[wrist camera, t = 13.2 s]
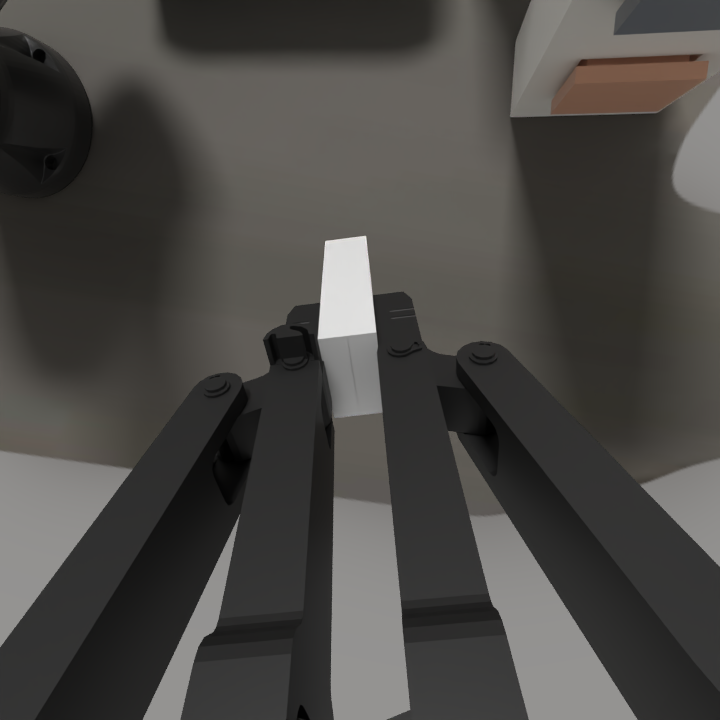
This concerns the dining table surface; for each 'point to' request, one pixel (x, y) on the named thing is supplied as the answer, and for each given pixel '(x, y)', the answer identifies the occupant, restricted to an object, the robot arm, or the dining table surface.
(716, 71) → the button panel
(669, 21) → the upper button
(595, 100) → the lower button
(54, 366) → the dining table surface
